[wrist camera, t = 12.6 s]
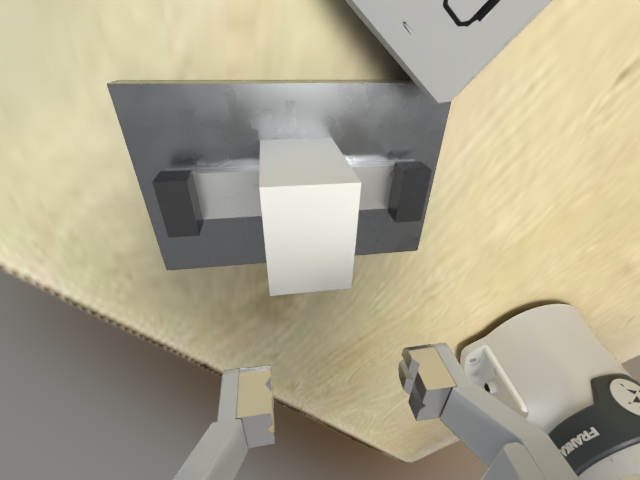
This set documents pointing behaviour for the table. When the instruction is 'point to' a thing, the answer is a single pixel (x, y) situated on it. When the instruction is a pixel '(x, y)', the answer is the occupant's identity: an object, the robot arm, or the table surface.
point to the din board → (244, 157)
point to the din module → (308, 215)
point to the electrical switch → (445, 37)
